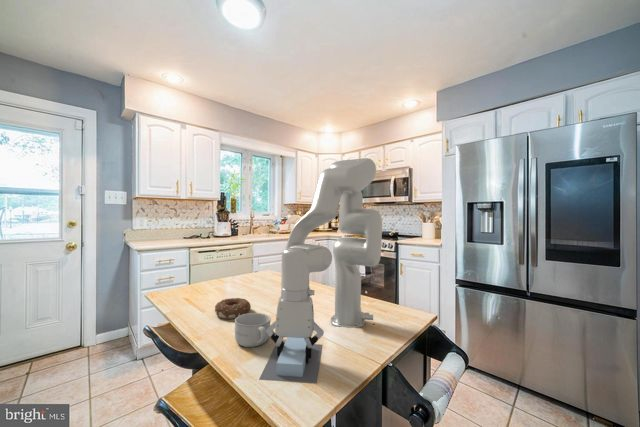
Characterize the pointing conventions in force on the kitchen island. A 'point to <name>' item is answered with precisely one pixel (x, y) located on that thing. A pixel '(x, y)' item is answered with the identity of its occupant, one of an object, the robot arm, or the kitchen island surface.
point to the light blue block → (292, 358)
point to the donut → (232, 308)
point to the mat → (308, 376)
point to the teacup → (251, 329)
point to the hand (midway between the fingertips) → (294, 358)
